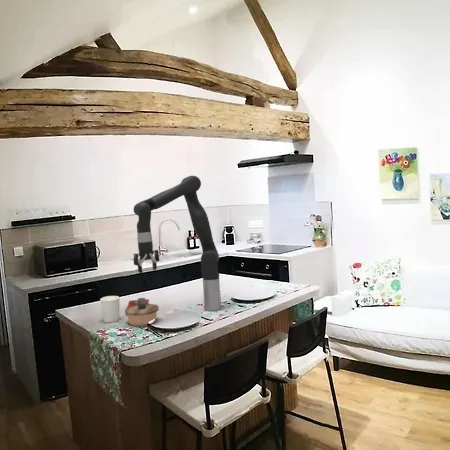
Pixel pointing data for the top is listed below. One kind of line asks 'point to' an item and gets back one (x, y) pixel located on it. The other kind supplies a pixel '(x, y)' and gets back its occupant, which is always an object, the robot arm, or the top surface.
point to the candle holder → (110, 308)
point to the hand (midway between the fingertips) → (147, 271)
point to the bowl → (141, 319)
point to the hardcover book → (136, 303)
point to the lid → (141, 308)
